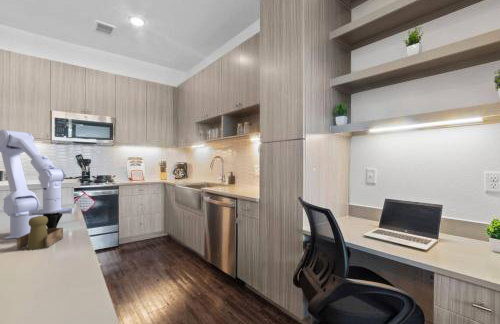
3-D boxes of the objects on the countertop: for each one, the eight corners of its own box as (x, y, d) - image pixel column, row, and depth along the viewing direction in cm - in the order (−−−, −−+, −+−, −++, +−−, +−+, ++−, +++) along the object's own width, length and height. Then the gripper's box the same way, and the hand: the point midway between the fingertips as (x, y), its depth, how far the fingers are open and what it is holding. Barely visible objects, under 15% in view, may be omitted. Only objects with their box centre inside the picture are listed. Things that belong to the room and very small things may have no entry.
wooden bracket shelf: (36, 240, 91) (36, 229, 91) (63, 238, 94) (63, 227, 94) (16, 250, 81) (16, 238, 81) (47, 248, 83) (47, 236, 83)
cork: (36, 250, 81) (35, 218, 81) (22, 249, 82) (22, 218, 82) (53, 244, 87) (53, 215, 87) (40, 243, 88) (40, 214, 88)
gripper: (77, 196, 100) (77, 228, 100) (36, 197, 96) (36, 231, 96) (69, 198, 93) (69, 233, 93) (25, 200, 89) (25, 236, 89)
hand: (52, 232), depth 94 cm, fingers closed, pressing on wooden bracket shelf
